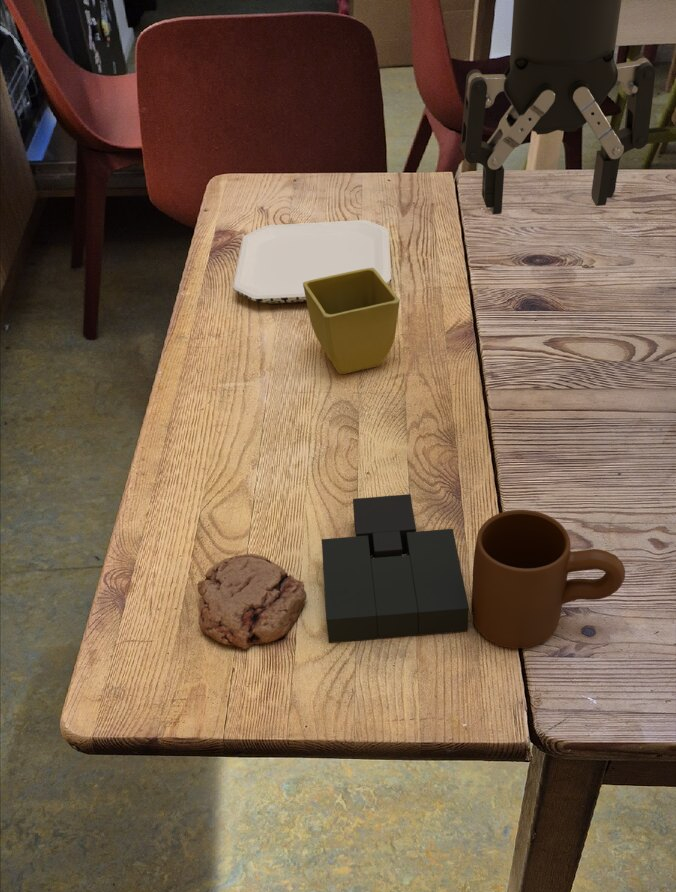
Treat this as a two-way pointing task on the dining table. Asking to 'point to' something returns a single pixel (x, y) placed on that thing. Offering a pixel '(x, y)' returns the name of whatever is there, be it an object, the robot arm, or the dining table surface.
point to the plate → (307, 257)
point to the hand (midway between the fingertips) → (546, 206)
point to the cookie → (248, 601)
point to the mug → (531, 577)
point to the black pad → (384, 523)
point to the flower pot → (353, 318)
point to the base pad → (393, 588)
